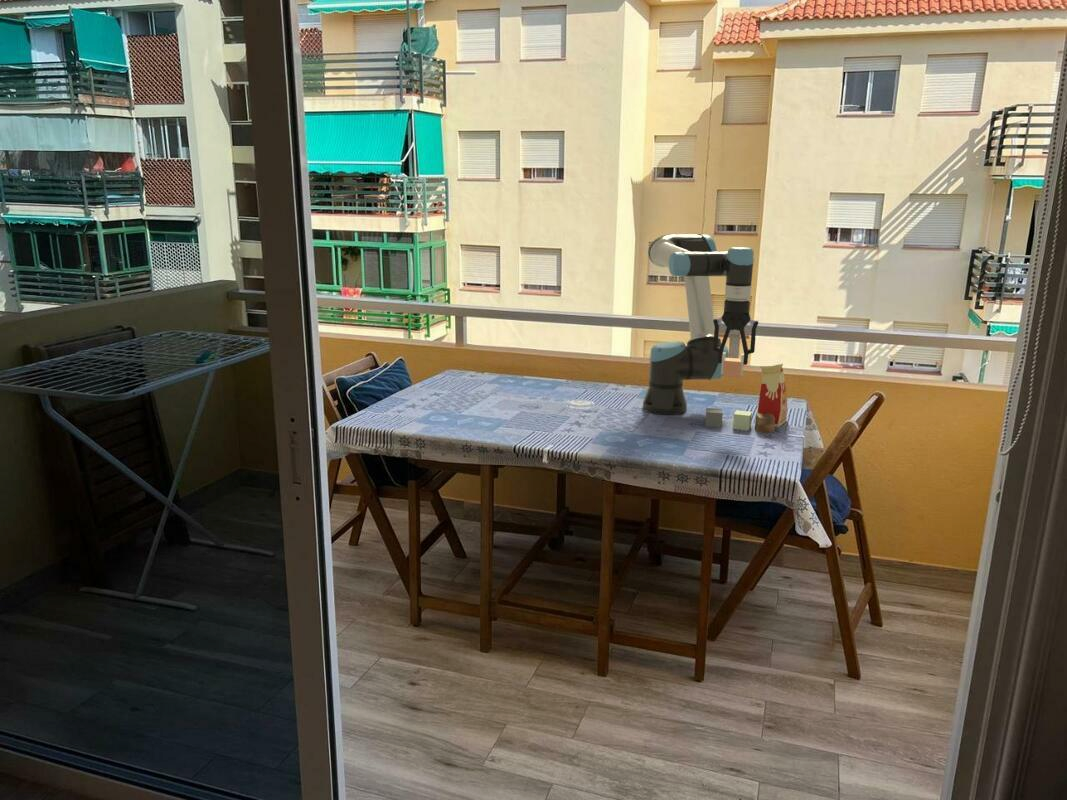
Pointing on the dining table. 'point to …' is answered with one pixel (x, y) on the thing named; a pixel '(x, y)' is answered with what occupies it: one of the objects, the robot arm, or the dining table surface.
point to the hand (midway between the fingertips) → (731, 373)
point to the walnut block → (765, 423)
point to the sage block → (742, 420)
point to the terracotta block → (732, 367)
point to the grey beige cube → (713, 417)
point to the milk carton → (773, 393)
